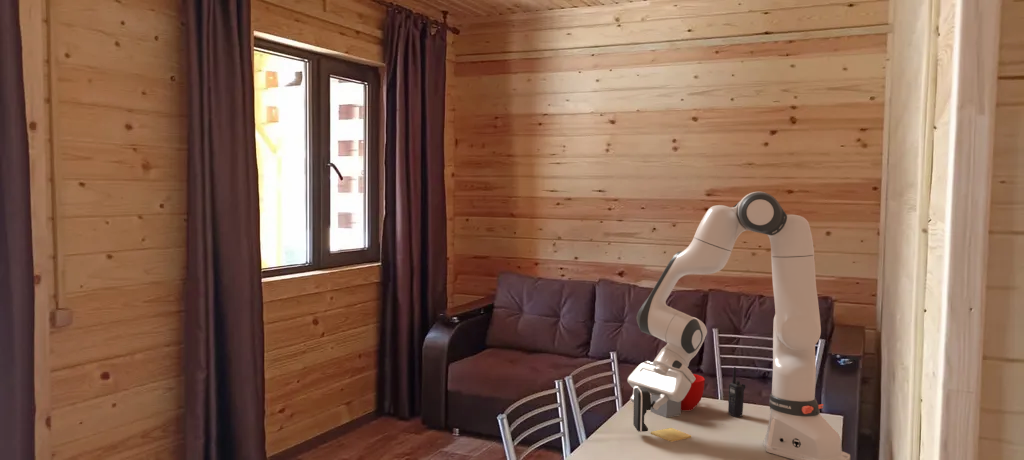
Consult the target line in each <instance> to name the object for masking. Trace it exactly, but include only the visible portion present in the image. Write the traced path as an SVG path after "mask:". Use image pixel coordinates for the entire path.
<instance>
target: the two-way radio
mask: <svg viewBox="0 0 1024 460" xmlns="http://www.w3.org/2000/svg"><path fill="white" fill-rule="evenodd" d="M745 389H746V384H744V383H741V382H740V380H738V379H737V367H736V366H734V367H733V371H732V382H730V383H729V385H728V408H727V409H728V411H727V413H728V414H730V415H731V416H733V417H735V418H739V417H742V416H743V413H744V412H743V410H744V398H745V396H744V395H745V393H744V392H745Z"/></svg>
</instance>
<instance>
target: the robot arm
mask: <svg viewBox="0 0 1024 460" xmlns="http://www.w3.org/2000/svg"><path fill="white" fill-rule="evenodd" d="M746 231H750V232H753V233H759V234H764V235H767V237H768V239H769V244H770V255H771V256H770V259H771V260H770V261H771V276H772V277H771V278H772V289H773V299H774V300H773V301H774V309H775V310H774V311H775V313H774V317H773V322H772V323H773V327H772V328H773V331H772V338H773V339H772V379H771V382H772V383H771V393H769V410H770V412H769V419H768V425H767V429H766V432H765V433H766V434H765V437H764V440H763V443H762V444H763V446H764V447H765V452H767V453H770V454H774V455H776V456H779V457H782V458H783V457H784V458H787V459H790V460H851V454H850V453H848V452H845V451H843V449H842V448H843V447H842V442H841V441H842V440H841V437H840V434H839V433H838V432H837V430H836V429H834V428H833V427H832V425H831V424H830V423H829V422H828V421H827V420H826V419H825V418H824V417H823V416H822V415H821V412H820V409H823V408H824V404H823V403H821V404H819V403H818V401H817V398H816V397H815V396H816V379H817V378H816V377H817V367H816V365H817V364H816V345H817V343H818V342H819V340H820V338H821V333H822V327H821V315H820V309H819V308H820V306H819V305H820V304H819V296H818V291H817V290H818V289H817V282H816V281H817V279H816V263H815V261H816V260H815V247H814V240H813V234H812V231H811V226H810V223H809V221H808V220H807V219H806V218H805V217H804V216H803V215H802V216H801V215H800V214H799V215H797V214H791V213H790V214H787V213H786V212H785V210H784V209H783V207H782V206H781V204H780V203H779V201H778V200H777V199H776V198H775V197H774V196H773V195H771V194H770V193H767V192H764V191H753V192H750V193H748V194H746V195H745V196H743V197H742V198H741V200H739V201H738V202H737V203H736V204H735V205H733V206H727V205H723V204H718V205H713V206H711V207H709V208H708V209H707V211H706V212H705V214H704V215H703V216H702V218H701V221H700V222H699V224H698V226H697V228H696V231H695V233H694V236H693V238H692V240H691V242H690V243H689V245H688V246H687V247H686V248H685V249H684V250H681V251H677V252H676V253H674V255H673V256H672V258H671V259H670V261H669V262H668V264H667V265H666V267H665V269H664V270H663V272H662V273H661V275H660V277H659V279H658V280H657V281H656V284H655V285H654V287H653V289H652V291H651V292H650V294H649V295H648V297H647V299H645V301H644V302H643V303H642V305H641V307H640V308H639V310H638V311H637V313H636V322H637V326H638V328H639V331H641V333H644V334H646V335H648V336H649V335H650V336H652V337H655V338H656V339H659V340H661V341H663V342H665V343H666V345H664V347H662V348H661V350H660V351H659V352H658V354H657V355H656V357H655V358H654V360H653V361H651V360H646V361H644V362H641V363H640V364H638V366H636V367H635V369H633V371H632V372H631V373H629V375H628V377H627V383H628V384H629V386H630V387H631V388H633V389H632V395H631V396H630V398H629V400H630V402H632V403H634V388H637V387H639V388H646V389H647V390H648V391H649V393H650V395H651V394H653V395H656V396H660V398H659V399H658V400H657V401H656V402H655V401H653V402H652V404H651V407H652V409H654V410H658V409H659V407H660V406H661V405H663V404H665V403H666V402H667V401H668V400H672V401H675V402H680V401H682V400H683V399H684V398H685V396H686V395H687V393H688V391H689V390H690V387H691V383H693V382H694V381H695V379H696V378H695V376H694V375H693V374H694V373H693V372H692V371H691V370H690V369H689V368H688V367H689V365H690V362H691V360H692V359H693V358H695V356H696V355H697V354H698V352H699V351H700V349H701V347H702V346H703V343H704V341H705V339H706V336H707V334H708V330H707V329H708V328H707V327H706V324H705V323H704V322H703V321H702V320H701V319H699V318H697V317H694V316H691V315H690V314H687V313H685V312H682V311H680V310H678V309H675V308H673V307H671V306H669V305H667V302H666V301H667V300H668V298H669V297H670V294H671V293H672V291H673V290H674V287H675V286H676V284H677V283H678V281H679V280H680V279H681V278H683V277H684V276H689V275H712V274H716V273H718V272H720V271H722V270H723V268H724V269H725V266H726V265H727V263H728V261H729V259H730V257H731V255H732V251H733V250H734V246H735V244H736V242H737V239H738V238H739V237H740V236H741V234H742V233H743V232H746Z"/></svg>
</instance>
